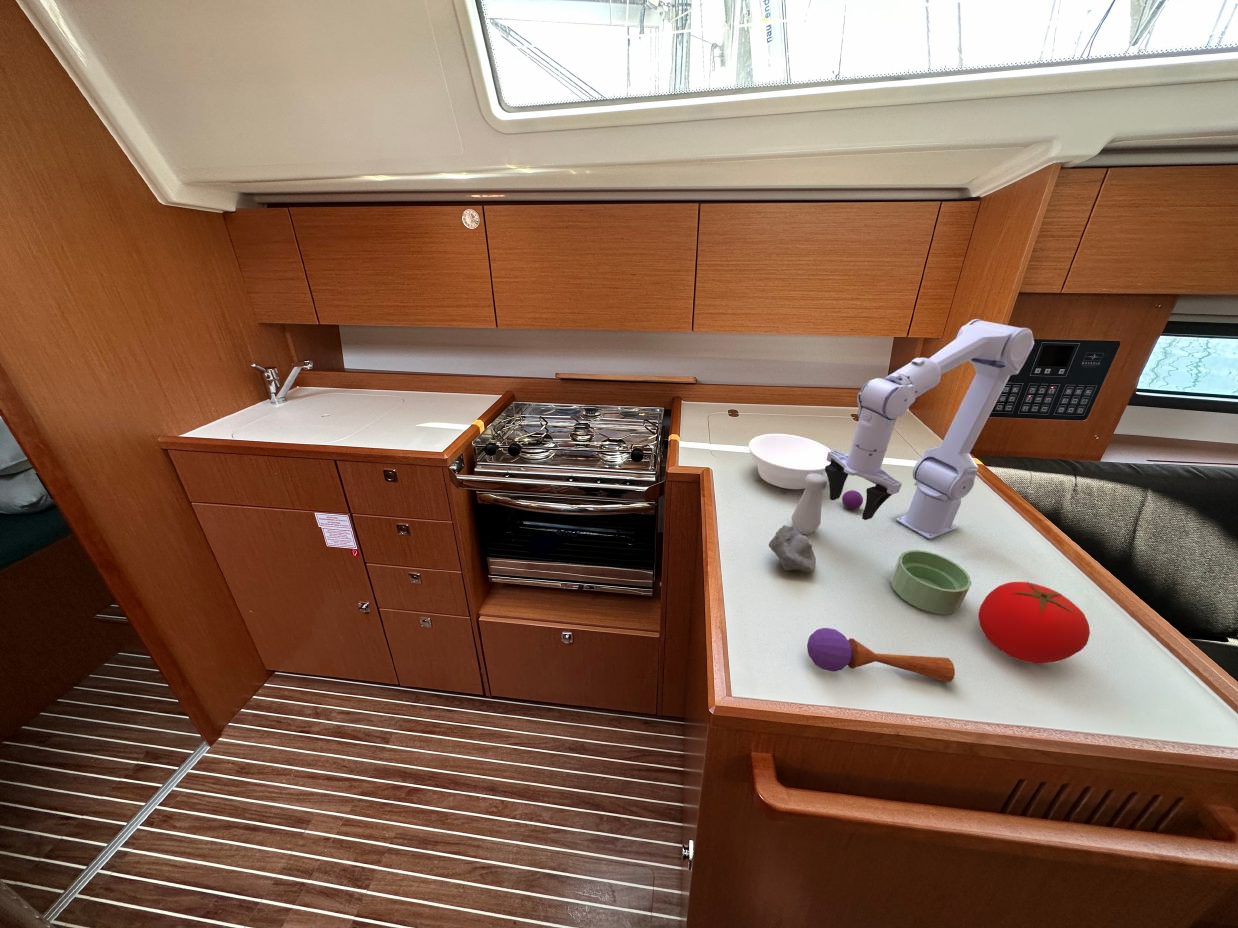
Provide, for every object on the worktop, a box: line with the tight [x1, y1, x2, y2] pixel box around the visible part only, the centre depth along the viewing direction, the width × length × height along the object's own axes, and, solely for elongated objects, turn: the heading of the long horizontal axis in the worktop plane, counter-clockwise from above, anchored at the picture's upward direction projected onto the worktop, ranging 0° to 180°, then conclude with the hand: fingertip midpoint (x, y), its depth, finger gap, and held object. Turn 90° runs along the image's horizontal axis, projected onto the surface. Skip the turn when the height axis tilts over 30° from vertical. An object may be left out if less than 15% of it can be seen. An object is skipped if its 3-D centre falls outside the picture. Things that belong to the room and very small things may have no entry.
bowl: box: [748, 433, 832, 490], centre depth 120 cm, size 21×21×8 cm
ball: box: [841, 489, 864, 510], centre depth 109 cm, size 4×4×4 cm
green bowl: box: [890, 549, 972, 615], centre depth 84 cm, size 11×11×6 cm
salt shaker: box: [791, 473, 828, 535], centre depth 99 cm, size 6×6×13 cm
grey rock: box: [768, 524, 817, 573], centre depth 89 cm, size 11×9×8 cm
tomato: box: [978, 581, 1091, 665], centre depth 72 cm, size 12×13×11 cm
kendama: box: [806, 627, 956, 683], centre depth 69 cm, size 6×6×20 cm
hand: (850, 508), depth 92 cm, fingers open, 7 cm apart
